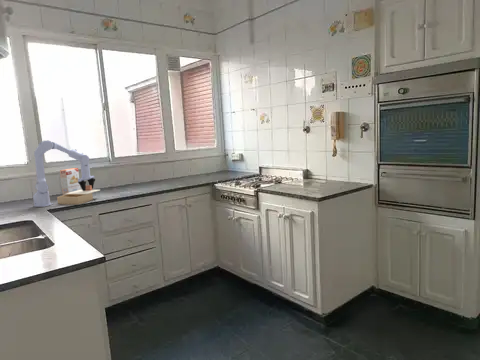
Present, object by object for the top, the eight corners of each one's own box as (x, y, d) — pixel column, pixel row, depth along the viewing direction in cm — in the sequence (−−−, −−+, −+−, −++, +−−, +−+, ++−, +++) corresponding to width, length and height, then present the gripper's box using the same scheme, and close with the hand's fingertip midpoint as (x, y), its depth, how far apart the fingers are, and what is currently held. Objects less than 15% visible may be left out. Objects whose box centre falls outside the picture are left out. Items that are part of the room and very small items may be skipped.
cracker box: (69, 197, 250) (65, 170, 247) (62, 197, 252) (58, 170, 248) (81, 193, 264) (78, 167, 261) (75, 194, 265) (71, 168, 262)
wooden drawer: (58, 204, 227) (57, 197, 227) (73, 199, 241) (72, 192, 240) (78, 204, 223) (77, 197, 222) (93, 199, 236) (92, 192, 235)
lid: (65, 194, 234) (64, 188, 234) (80, 190, 248) (79, 185, 247) (86, 194, 229) (85, 188, 229) (100, 190, 243) (99, 184, 242)
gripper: (83, 172, 233) (85, 191, 235) (97, 169, 247) (99, 187, 249) (74, 172, 235) (77, 191, 237) (89, 170, 249) (91, 187, 251)
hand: (87, 189), depth 243 cm, fingers open, 7 cm apart
